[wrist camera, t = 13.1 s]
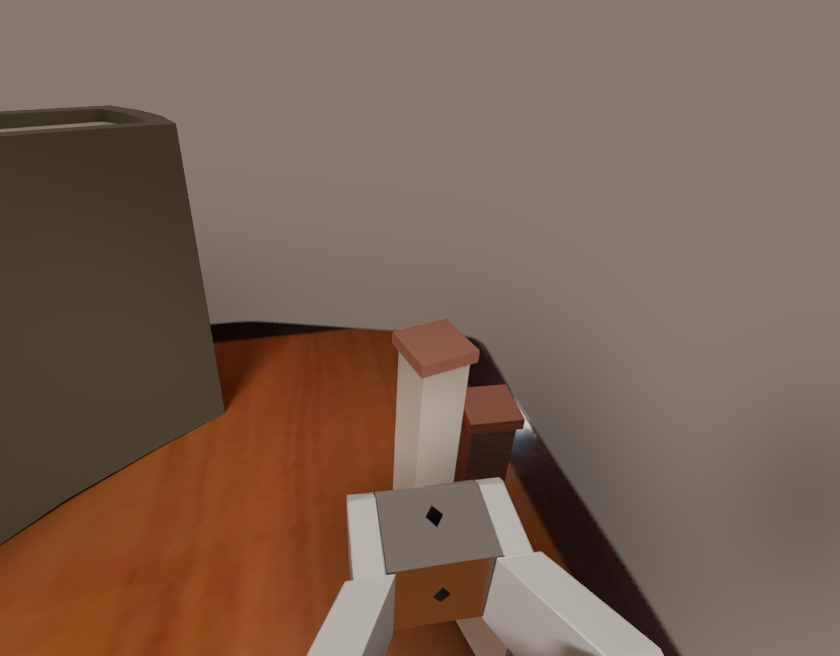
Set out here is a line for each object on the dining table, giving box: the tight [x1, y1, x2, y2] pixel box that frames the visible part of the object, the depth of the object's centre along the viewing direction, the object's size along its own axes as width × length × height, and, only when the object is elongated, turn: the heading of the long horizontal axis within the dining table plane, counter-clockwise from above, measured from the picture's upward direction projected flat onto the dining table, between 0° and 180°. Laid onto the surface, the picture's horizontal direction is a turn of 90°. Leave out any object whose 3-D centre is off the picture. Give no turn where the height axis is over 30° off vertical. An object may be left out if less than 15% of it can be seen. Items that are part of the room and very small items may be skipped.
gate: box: [392, 319, 514, 656], centre depth 28 cm, size 15×4×18 cm, turn 28°
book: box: [0, 106, 225, 544], centre depth 37 cm, size 22×9×28 cm, turn 144°
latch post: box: [454, 384, 525, 482], centre depth 36 cm, size 5×5×13 cm
